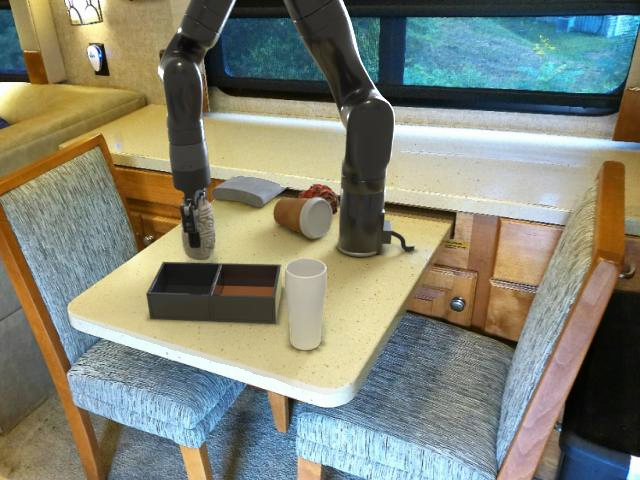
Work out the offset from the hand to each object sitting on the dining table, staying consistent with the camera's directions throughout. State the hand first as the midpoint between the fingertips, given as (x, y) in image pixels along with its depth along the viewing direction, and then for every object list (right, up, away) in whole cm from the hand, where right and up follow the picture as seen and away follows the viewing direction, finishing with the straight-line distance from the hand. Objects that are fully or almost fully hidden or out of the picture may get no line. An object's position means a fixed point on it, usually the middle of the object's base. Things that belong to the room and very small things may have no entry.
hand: (198, 239), depth 125 cm
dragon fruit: (+28, +8, +22) cm, 36 cm away
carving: (0, -3, +2) cm, 4 cm away
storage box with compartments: (+4, -13, -9) cm, 17 cm away
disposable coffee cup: (+19, +8, +18) cm, 27 cm away
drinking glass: (+20, -20, -22) cm, 36 cm away
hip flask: (+8, +14, +30) cm, 34 cm away
